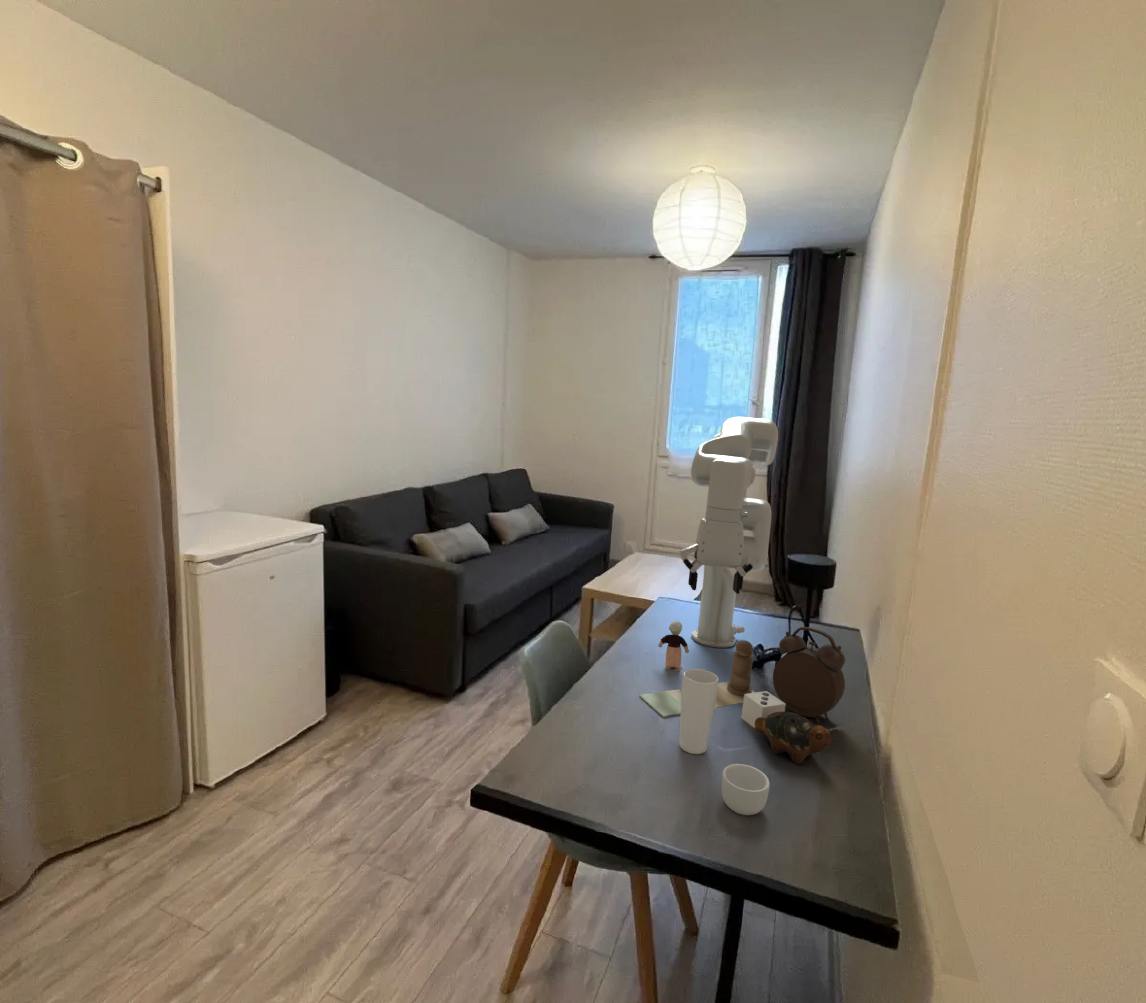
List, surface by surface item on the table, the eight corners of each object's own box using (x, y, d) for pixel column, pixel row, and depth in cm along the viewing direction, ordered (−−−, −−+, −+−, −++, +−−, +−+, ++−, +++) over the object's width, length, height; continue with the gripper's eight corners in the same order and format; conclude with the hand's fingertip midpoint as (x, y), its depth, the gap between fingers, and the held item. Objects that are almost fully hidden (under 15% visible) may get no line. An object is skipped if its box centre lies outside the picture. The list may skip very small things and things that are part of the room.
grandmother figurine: (685, 667, 160) (691, 620, 158) (687, 673, 156) (692, 625, 154) (655, 664, 160) (660, 617, 158) (656, 670, 157) (661, 622, 155)
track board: (736, 681, 153) (737, 680, 153) (764, 700, 145) (765, 698, 144) (639, 696, 142) (639, 694, 141) (663, 717, 133) (663, 716, 133)
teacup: (766, 827, 100) (770, 796, 99) (717, 815, 102) (721, 785, 101) (764, 791, 109) (768, 763, 108) (720, 781, 111) (723, 753, 110)
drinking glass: (689, 760, 117) (698, 685, 115) (668, 742, 123) (676, 670, 121) (717, 753, 120) (726, 680, 118) (695, 736, 126) (703, 666, 124)
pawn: (740, 684, 151) (746, 635, 149) (756, 694, 146) (762, 644, 144) (722, 687, 149) (728, 637, 147) (737, 698, 144) (743, 646, 142)
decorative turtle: (821, 779, 114) (823, 738, 113) (743, 750, 124) (745, 713, 123) (838, 756, 122) (840, 718, 120) (764, 731, 131) (765, 695, 130)
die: (763, 716, 137) (766, 690, 136) (782, 730, 131) (785, 703, 130) (741, 720, 134) (744, 693, 133) (759, 734, 129) (763, 706, 128)
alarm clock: (842, 722, 137) (855, 635, 134) (830, 733, 132) (843, 643, 129) (779, 697, 147) (790, 616, 144) (765, 706, 141) (777, 622, 138)
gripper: (757, 515, 141) (748, 588, 143) (681, 509, 140) (673, 582, 143) (767, 521, 133) (757, 598, 136) (687, 515, 133) (678, 592, 136)
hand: (714, 590), depth 139 cm, fingers open, 9 cm apart
